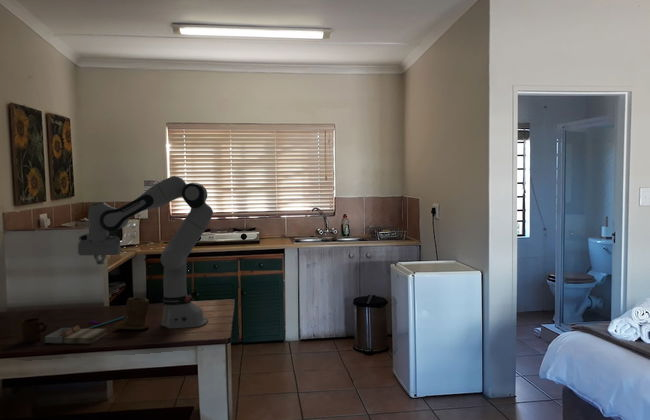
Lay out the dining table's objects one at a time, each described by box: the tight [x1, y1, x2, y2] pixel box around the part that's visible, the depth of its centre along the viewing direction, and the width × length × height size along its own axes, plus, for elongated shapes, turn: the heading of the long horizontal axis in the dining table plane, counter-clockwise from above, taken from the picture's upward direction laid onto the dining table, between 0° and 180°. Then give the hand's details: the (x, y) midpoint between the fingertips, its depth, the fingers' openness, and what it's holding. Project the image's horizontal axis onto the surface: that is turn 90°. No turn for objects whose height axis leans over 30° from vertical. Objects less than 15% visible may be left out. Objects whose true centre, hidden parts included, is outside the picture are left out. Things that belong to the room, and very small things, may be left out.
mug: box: [21, 317, 48, 344], centre depth 230 cm, size 12×8×9 cm, turn 76°
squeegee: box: [86, 316, 126, 329], centre depth 256 cm, size 29×2×10 cm
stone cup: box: [113, 297, 151, 331], centre depth 247 cm, size 15×12×15 cm
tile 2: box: [57, 329, 73, 338], centre depth 230 cm, size 5×5×2 cm
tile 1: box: [70, 324, 81, 334], centre depth 236 cm, size 5×5×2 cm
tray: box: [44, 327, 72, 344], centre depth 233 cm, size 8×14×3 cm, turn 177°
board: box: [63, 328, 108, 344], centre depth 232 cm, size 13×14×2 cm
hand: (100, 264), depth 250 cm, fingers closed
